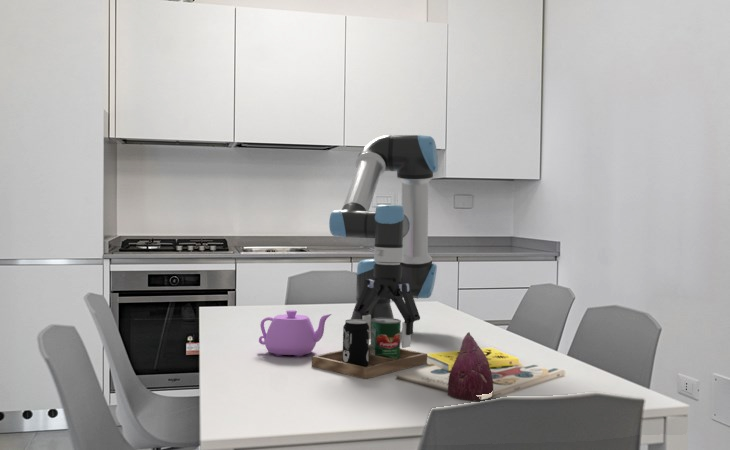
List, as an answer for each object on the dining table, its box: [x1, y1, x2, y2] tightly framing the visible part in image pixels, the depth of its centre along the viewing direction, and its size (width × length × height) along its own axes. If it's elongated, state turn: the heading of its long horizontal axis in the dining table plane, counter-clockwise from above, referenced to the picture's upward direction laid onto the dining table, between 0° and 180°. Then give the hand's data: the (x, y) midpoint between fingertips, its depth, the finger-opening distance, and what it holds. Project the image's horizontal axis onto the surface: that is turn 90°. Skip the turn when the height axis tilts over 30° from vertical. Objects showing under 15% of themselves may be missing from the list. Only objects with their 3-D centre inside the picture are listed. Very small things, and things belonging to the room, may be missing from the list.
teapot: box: [258, 309, 333, 357], centre depth 196 cm, size 20×13×12 cm, turn 87°
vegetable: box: [447, 331, 494, 402], centre depth 159 cm, size 10×10×15 cm
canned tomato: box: [370, 318, 402, 360], centre depth 189 cm, size 8×8×11 cm
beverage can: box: [341, 318, 370, 367], centre depth 180 cm, size 7×7×12 cm
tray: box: [311, 343, 428, 380], centre depth 185 cm, size 18×25×2 cm
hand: (385, 343), depth 189 cm, fingers open, 13 cm apart
